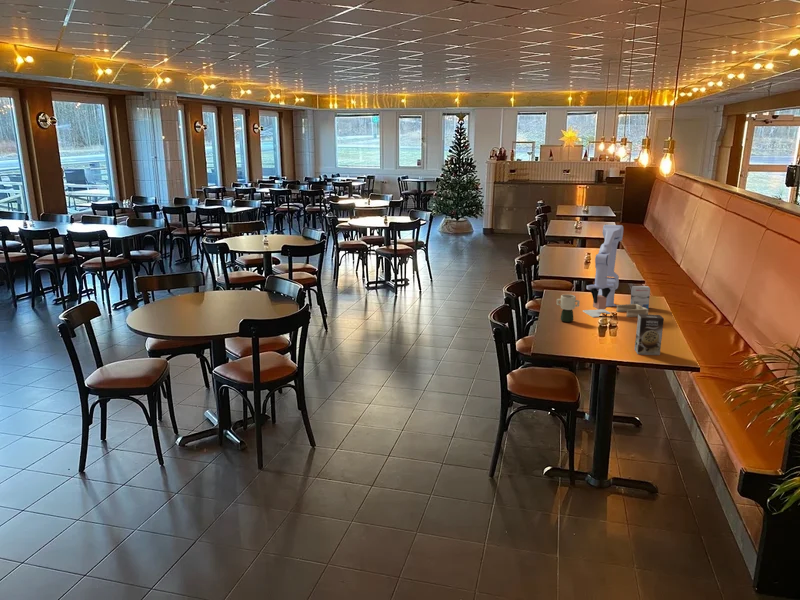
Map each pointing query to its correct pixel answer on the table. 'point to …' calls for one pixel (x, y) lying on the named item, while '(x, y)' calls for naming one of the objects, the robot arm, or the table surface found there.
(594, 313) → the pad
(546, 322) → the table surface
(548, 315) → the table surface
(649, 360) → the table surface
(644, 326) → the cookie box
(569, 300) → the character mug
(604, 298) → the block
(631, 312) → the frame
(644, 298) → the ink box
